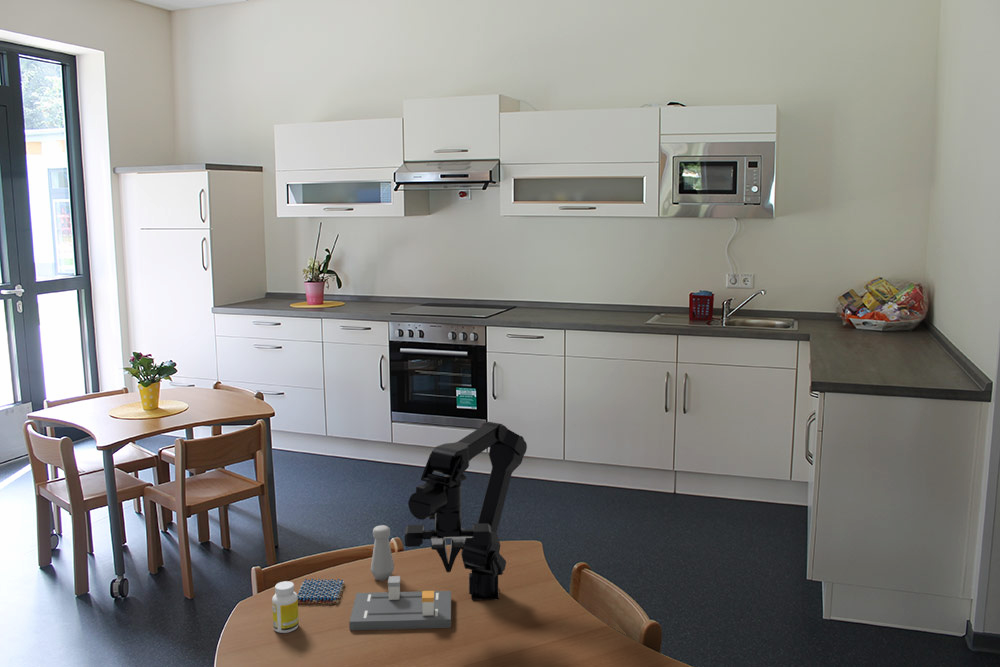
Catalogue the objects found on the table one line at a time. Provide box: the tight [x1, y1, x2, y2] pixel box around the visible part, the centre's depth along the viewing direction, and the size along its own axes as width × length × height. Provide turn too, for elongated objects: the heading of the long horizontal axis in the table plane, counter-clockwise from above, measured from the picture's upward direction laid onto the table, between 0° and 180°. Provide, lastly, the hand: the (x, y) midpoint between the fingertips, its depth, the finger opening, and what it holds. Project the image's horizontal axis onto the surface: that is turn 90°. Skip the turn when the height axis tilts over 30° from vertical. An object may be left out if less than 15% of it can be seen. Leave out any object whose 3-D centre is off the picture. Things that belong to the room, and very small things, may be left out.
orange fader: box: [421, 590, 435, 616], centre depth 178 cm, size 3×3×4 cm
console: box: [348, 590, 452, 631], centre depth 182 cm, size 22×13×2 cm, turn 93°
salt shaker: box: [370, 524, 395, 582], centre depth 199 cm, size 6×6×13 cm
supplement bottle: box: [271, 580, 300, 634], centre depth 175 cm, size 5×5×10 cm
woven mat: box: [297, 578, 346, 605], centre depth 191 cm, size 10×11×2 cm
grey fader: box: [387, 575, 401, 600], centre depth 185 cm, size 3×3×4 cm
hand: (448, 571), depth 177 cm, fingers closed
